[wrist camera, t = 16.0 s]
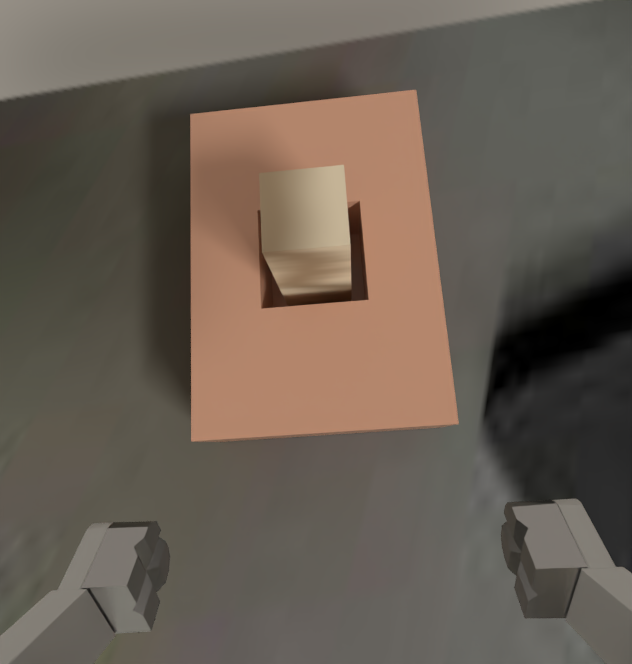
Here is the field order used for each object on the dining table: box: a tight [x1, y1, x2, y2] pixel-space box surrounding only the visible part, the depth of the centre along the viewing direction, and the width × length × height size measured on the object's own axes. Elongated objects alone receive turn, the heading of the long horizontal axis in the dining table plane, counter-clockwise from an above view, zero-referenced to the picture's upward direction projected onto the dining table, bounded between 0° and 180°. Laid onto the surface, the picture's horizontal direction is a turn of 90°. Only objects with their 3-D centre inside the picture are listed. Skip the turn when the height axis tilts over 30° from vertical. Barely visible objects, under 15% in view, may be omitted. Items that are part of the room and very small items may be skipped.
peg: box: [259, 165, 352, 306], centre depth 27 cm, size 4×4×10 cm
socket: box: [190, 90, 459, 442], centre depth 30 cm, size 14×20×6 cm
